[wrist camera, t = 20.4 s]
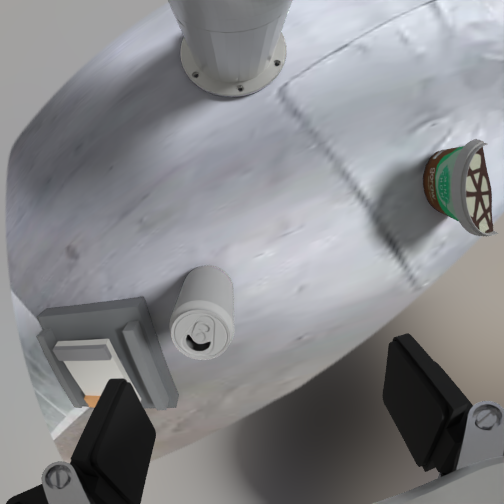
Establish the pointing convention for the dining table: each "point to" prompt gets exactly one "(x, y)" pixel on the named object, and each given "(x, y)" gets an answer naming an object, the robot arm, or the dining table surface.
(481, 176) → the food container
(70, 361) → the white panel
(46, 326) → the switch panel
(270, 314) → the dining table surface
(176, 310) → the beverage can
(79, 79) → the dining table surface
